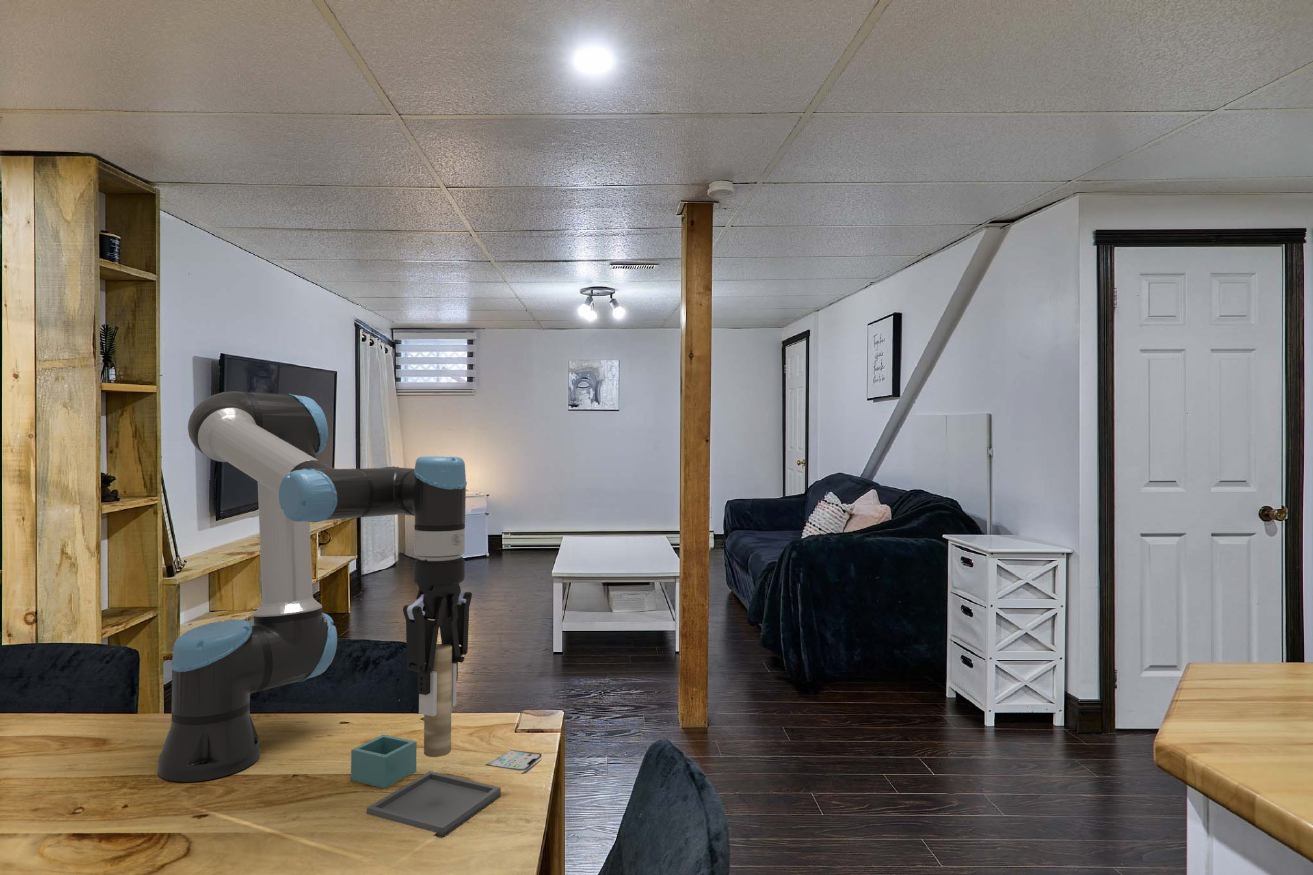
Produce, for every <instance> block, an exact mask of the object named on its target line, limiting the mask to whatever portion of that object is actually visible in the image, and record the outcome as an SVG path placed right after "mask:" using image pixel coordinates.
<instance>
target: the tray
mask: <svg viewBox="0 0 1313 875" xmlns="http://www.w3.org/2000/svg"><path fill="white" fill-rule="evenodd" d="M501 790H502V789H501V786H496V785H492V784H487V783H483V782H479V781H474V780H470V779H466V778H463V777H462V778H461V777H457V776H454V775H448V774H444V773H439V772H436V771H430V770H429V771H428V772H426V773H424V774H423V775H421V776H419V777H417V778H416V779H414V780H412V781H411V782H409V783H406V784H405V785H404V786H402V787H400V788H399V789H397V790H395V791H394V792H391V793H390V794H388V795H386V796H385V797H383V798H381V799H380V800H378V801H376V802H374V803H372V804H371V805H369V806H367V807H366V814H367V815H370V816H373V817H374V816H375V817H379V818H382V819H385V820H389V821H393V822H396V823H400V824H405V825H408V826H412V827H415V828H418V829H419V828H420V829H423V830H426V831H430V832H434V833H433V835H432V836H434V837H438V838H442V839H443V838H445V837H446V836H448V835H449V834H450V833H452V832H453V831H454V830H456V829H457V828H458V827H459V828H460V826H461V825H463V824H464V823H465V822H467V821H468V820H470V819H472V817H474V816H476V815H477V814H478V813H479V812H481V811H482V810H483V809H485V808H486V807H489V805H491V804H492V803H493V802H495V801H496V800H498V799H499V798H501V795H502V794H501V793H502V792H501Z"/></svg>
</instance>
